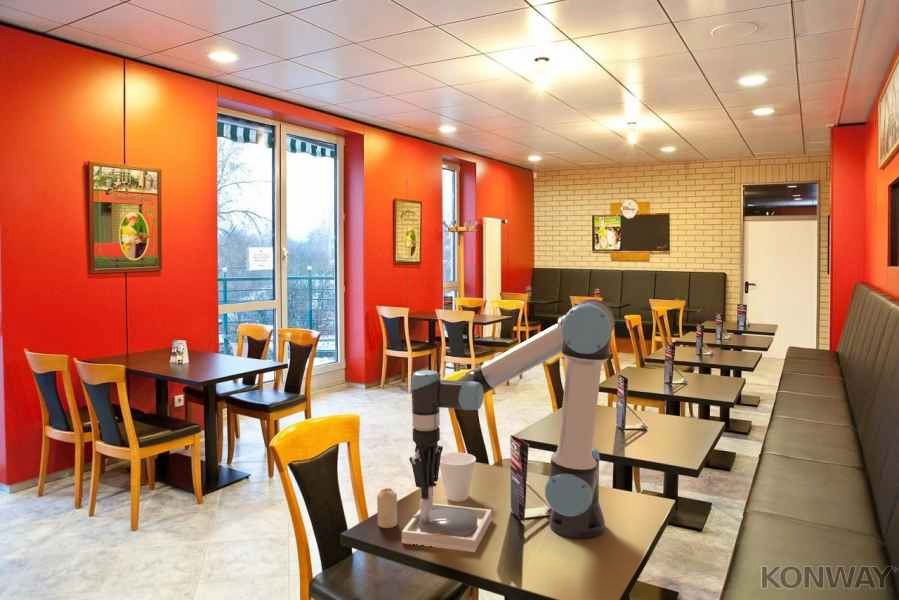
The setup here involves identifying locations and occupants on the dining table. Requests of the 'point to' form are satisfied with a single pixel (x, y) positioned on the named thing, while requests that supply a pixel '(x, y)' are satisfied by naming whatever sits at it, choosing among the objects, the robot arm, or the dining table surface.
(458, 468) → the cup
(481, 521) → the dial plate
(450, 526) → the dial
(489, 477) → the dining table surface
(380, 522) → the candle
